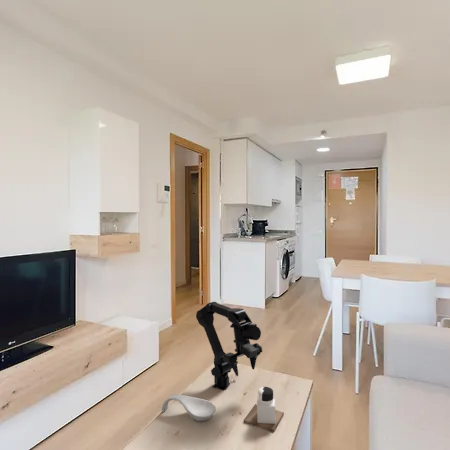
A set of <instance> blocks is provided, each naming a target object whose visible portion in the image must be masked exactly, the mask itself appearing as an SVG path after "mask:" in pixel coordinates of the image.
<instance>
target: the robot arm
mask: <svg viewBox="0 0 450 450" xmlns="http://www.w3.org/2000/svg"><path fill="white" fill-rule="evenodd" d="M214 314H217V315H220V316H221V317H224V318H226V319H227V320H228V322H230V323H231V324H230V326H229V327H230V328H233V335H234V339H233V343H235V344H234V345H235V348H234V352H235V353H234V352H225V351H224V348H223V346H222V343H221V341H220V338H219V336H218V334H217V330H216V328H215V325H214V319H215V316H214ZM195 317H196V320H197V321H198V324H199V325H200V326H201V327H202V328H203V329H204V332H205V334H206V337H207V340H208V342H209V344H210V347H211V351H212V353H213V356H214V358H213V365H214V367H213V368H212V369H211V370H210V372H211V376H213V377H214V379H213V380H214V384H213V385H212V388H215V389H218V390H222V391H225V390H226V389H227V388H228V387H229V386H230V385H231V383H230V376H229V373H231V372H232V371H233V373H234V374H235V376H237V377H238V376H239V369H238V363H239V361H238V358H239V357H243V356H246V358H247V359H249V362H250V367H251V369H252V370H255V368H256V364H257V363H256V362H257V359H258V357H259V356H260V355H261V353H263V347H262V346H261V345H260V344H259V343H258V342H256V343H252V344H251V341H258V340H259V339H261V335H262V331H261V328H260V327H259V326H258V325H257V323H253V322H252V320H251V318H250V316H249V315H248V314H247V312H246V310H245V309H244V308H241V307H240V308H238V307H236V308H234V307H232V308H231V307H230V306H229V307H228V306H227V305H223V304H220V303H218V302H216V301H212V302H208V303H207V304H206V305H204V306H203V307H202V308H201V309H199V310H197V311H196V314H195ZM250 340H251V341H250Z"/></svg>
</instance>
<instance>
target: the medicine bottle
mask: <svg viewBox="0 0 450 450" xmlns="http://www.w3.org/2000/svg"><path fill="white" fill-rule="evenodd" d="M257 391H258V392H257V393H258V396H256V405H257V422H258V423H267V424H275V410H276V402H275V396H274V390H273V388H271V387H268V386H261V387H259V389H258V390H257Z"/></svg>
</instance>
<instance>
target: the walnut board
mask: <svg viewBox="0 0 450 450" xmlns="http://www.w3.org/2000/svg"><path fill="white" fill-rule="evenodd" d="M284 415H285V413H284V411H280V410H277V409H275V424H267V423H258V422H257V403H256V404H254V405H253V406H252V408H251V409H250V410H249V412H248V413H247V415H246V416H245V417H244V419H243V423H245V424H248V425H251V426H254V427H257V428H260V429H264V430H266V431H268V432H269V431H270V432H272V433H275V431H276V430H277V428H278V426H279V424H280V422H281V421H282V419H283V418H284Z"/></svg>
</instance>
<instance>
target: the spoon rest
mask: <svg viewBox="0 0 450 450" xmlns="http://www.w3.org/2000/svg"><path fill="white" fill-rule="evenodd" d="M170 401H178V402H179V403H180V404H181V405H182V407H183V408H184V410H185V411H186V413H187V414H188V415H189V416H190V418H192V419H193V420H195V421H197V422H198V421H199V422H204V421H207V420H209V419H211V418H212V417H213V416H214V414H215V413H216V410H217V408H216V405H215V404H214V403H213V402H212V401H209V400H206V399H203V398H198V397H195V396H190V395H185V394H180V393H179V394H178V393H177V394H176V393H175V394H171V395H170V396H168V397H167V399H166V400H164V401H163V403H162V407H161V413H164V412H166V411H167V409H168V407H169V402H170Z"/></svg>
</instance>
